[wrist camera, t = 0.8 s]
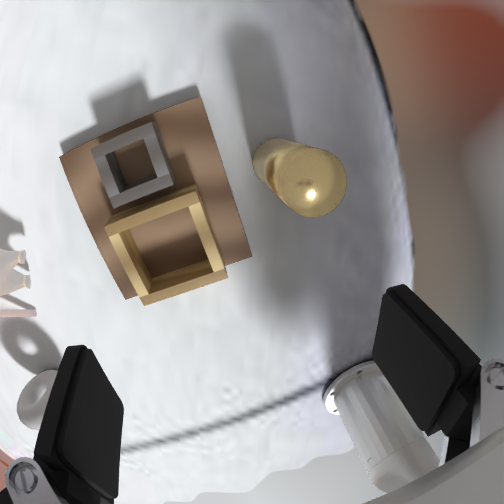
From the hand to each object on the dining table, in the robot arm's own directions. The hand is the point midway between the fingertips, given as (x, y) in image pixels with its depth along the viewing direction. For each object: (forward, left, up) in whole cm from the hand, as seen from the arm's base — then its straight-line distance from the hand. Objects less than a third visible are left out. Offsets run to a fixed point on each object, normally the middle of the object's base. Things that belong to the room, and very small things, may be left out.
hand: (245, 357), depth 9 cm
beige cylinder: (+1, -7, -22) cm, 23 cm away
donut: (-15, +30, -22) cm, 40 cm away
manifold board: (+1, +5, -22) cm, 22 cm away
